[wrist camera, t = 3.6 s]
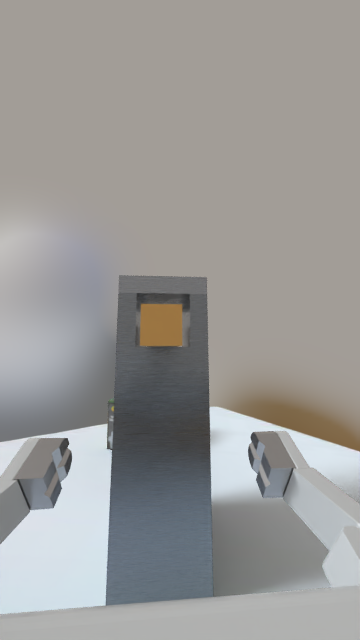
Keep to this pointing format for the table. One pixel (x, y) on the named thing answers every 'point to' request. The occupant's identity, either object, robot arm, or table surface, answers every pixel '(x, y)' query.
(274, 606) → the robot arm
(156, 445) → the housing
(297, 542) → the table surface
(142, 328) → the plug rod
